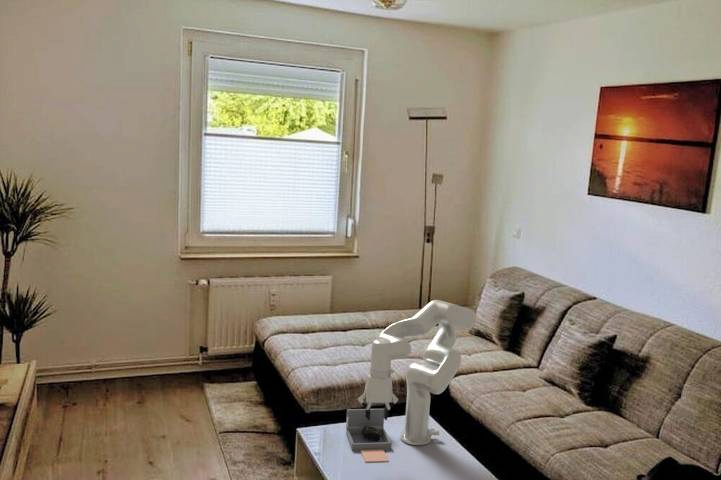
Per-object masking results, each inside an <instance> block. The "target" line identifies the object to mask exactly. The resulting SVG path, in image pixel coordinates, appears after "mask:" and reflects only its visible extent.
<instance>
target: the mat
mask: <svg viewBox="0 0 721 480" xmlns="http://www.w3.org/2000/svg"><path fill="white" fill-rule="evenodd" d="M360 453H361V455H362V458H363V460H364V462H365V463H385V462H390V460H389V457H388V455H387V454H386V452H385V449H379V450H360Z"/></svg>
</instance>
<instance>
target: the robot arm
mask: <svg viewBox="0 0 721 480" xmlns="http://www.w3.org/2000/svg"><path fill="white" fill-rule="evenodd" d="M476 314H477V313H476V312H475V310H473V309H472V308H468V307H464V306H461V305H458V304H455V303H451V302H447V301H443V300H440V299H434V300H431V301H430V302H428V303H427V304H425V306H424V307H422V308H421V310H419V311H418V312H417V313H416V314H415V315H413V316H412V317H410V318H406V319H403V320H400V321H397V322H394V323H392V324H391V325H389V326H387V327H386V328H385V329H384V330H383V331H382V332H381V333H380V334H379V335H378V336H377V338H376V339H375V340H374V341H372V344H371V356H370V357H371V358H370V368H369V374H368V375H367V377H366V380H365V381H366V382H365V387H364V392H363V393H362V394H361V395H360V396H359V397H358V398H357V401H358V402H359V403H360V404H361V405H362V406H363V408H364V409H366V410H365V417H366V418H367V420H370V409H371V406H372V404H384V405H385V406H384V408H383V409H384V421H388V418H389V417H390V416H389V415H390V410H391V408H392V407H393V406H394V405H395V404H396V403H397V402H398V401H399V399H398V397H397V396H396V395H395V394H394V393H393V380H392V374H394V373H395V370H394V369H392V368H391V367H392V366H391V365H392V360H402V359H405V358H407V357H408V356H409V355H410V354H411V351H412V346H411V343H410V342H409V341H407V339H404V338H407V337H422V336H425V335H427V334H428V333H429V332H430V331H431V330H432V329H433V328H434V327H435V326H437V325H438V327H437V332H436V334H435V335H434V337H433V338H432V339H431V341H430V342H429V344H428V346H427V347H426V348H425V350H424V351H423V354H422V360H423V361H424V362H425V363H426V364H425V363H422V362H412V363H410V365H409V366H408V367H407V369H406V371H405V373H406V374H405V380H406V392H407V393H406V405H405V419H404V430H403V431H401V432H400V434H399V438H400V440H401V441H402V442H404V443H405V444H408V445H412V446H424V445H425V446H426V445H428V444H430V443H431V442H432V436H440V431H439V430H435V428H429V421H430V408H431V407H430V406H431V394H434V395H440V394H442V393H443V392H444V391H445V390H446V389H447V388H448V386H449V384H450V383H451V381H452V380H453V378H454V377H455V376H456V373H457V372H458V370H459V369H460V367H461V364H462V355H461V353H460V352H459V350H457V349H455V348H454V346H455V343H456V342H457V341H456V340H457V335H456V330H455V327H456V328H459V329H463V330H470V329H472V328H473V327H474V326H475V324H476V322H477V315H476ZM364 399H365V400H366V401H364Z"/></svg>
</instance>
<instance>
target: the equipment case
mask: <svg viewBox="0 0 721 480" xmlns="http://www.w3.org/2000/svg"><path fill="white" fill-rule="evenodd" d="M365 410H366V408H354V409H353V408H352V409H351V408H349V409H348V408H347V409H346V418H345V419H346V422H345V429H346V431H345V436H346V438H347V440H348V444H349V447H350V449H351V451H361V450H379V449H383V450H392V442H391V439H390V437H389V436H388V434H387V432H386V430H385V429H384V425H385V424H384V422H385V419H384V408H370V420H367V418H366V417H365ZM365 426H370V427H373V428H375V429H377V430H378V432H379V434H380V435H381V436H382V437H383V440H384V442H357V443H354V440H353V437H352V436H363V435H362V431H363V428H364V427H365Z"/></svg>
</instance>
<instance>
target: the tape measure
mask: <svg viewBox="0 0 721 480" xmlns="http://www.w3.org/2000/svg"><path fill="white" fill-rule="evenodd" d="M361 436H362V437H363V438H364V439H367V440H369V441H374V442H379V441H380V440H381V434H379V432H378V430H377V429H375V428H373V427H370V426H365V427H364V428H363V431H362V435H361Z"/></svg>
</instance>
